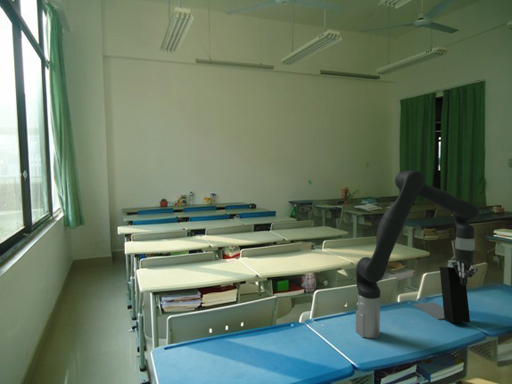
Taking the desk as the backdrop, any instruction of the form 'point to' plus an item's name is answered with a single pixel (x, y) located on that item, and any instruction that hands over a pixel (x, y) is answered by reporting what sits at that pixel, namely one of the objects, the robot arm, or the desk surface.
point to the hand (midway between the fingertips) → (463, 285)
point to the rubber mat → (432, 309)
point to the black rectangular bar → (453, 295)
